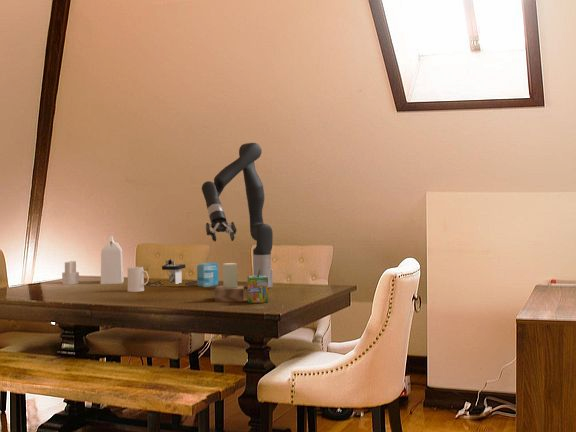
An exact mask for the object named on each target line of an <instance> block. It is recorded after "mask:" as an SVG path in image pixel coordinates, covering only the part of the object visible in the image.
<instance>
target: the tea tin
mask: <svg viewBox="0 0 576 432" xmlns="http://www.w3.org/2000/svg"><path fill="white" fill-rule="evenodd" d="M222 282H223V283H222V284H223V285H222V286H224V287H225V288H237V287H238V286H239V285H238V263H236V262H227V263H222Z"/></svg>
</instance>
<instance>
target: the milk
mask: <svg viewBox="0 0 576 432" xmlns="http://www.w3.org/2000/svg"><path fill="white" fill-rule="evenodd" d="M100 252H101V253H100V285H106V284H107V285H113V284H116V285H117V284H118V285H119V284H123V283H124V281H125V280H124V277H125V276H124V260H123V259H124V258H123V248H122V247H121V245H120V243H119V242H117V241H115V240H114V236H113V235H110V236H109V242H108V243H107V244H105V246H104V247H102V249H101V251H100Z"/></svg>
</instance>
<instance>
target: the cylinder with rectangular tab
mask: <svg viewBox="0 0 576 432" xmlns="http://www.w3.org/2000/svg"><path fill="white" fill-rule="evenodd" d="M61 273H62V274H61V276H62V281H61V283H62V285H76V284H80V272H79V271H77V261H76V260H71V261H65V262H64V272H61Z"/></svg>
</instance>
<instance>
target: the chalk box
mask: <svg viewBox="0 0 576 432" xmlns="http://www.w3.org/2000/svg"><path fill="white" fill-rule="evenodd" d="M259 273H260V269H259V271H258V275H257V276H253V275H247V278H246V279H247V281H246V282H247V288H246V289H247V294H246V295H247V297H246V299H247V302H248V304H267V303H266V302H268V303H269V288H268V277H267V276H259Z"/></svg>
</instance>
